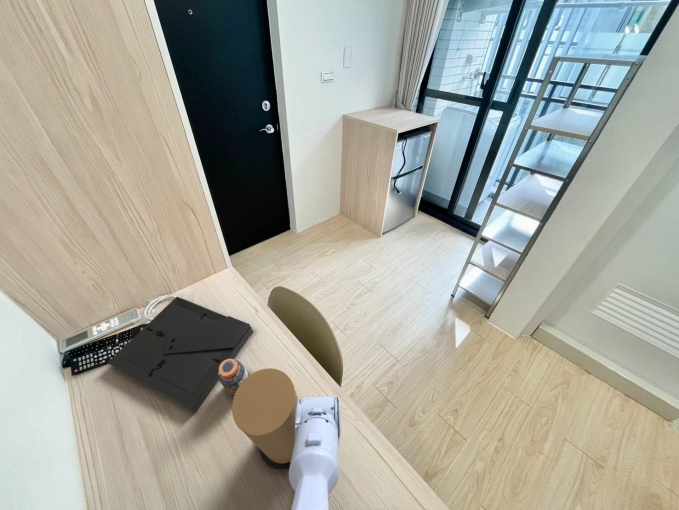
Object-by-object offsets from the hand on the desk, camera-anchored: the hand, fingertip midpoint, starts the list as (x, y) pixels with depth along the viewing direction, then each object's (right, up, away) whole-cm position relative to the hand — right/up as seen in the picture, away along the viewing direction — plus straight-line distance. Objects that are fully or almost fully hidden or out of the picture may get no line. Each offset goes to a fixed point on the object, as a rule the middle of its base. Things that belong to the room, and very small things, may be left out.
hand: (324, 450), depth 56 cm
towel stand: (-9, -1, +5) cm, 11 cm away
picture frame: (-40, +14, +21) cm, 47 cm away
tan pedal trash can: (-6, 0, +4) cm, 7 cm away
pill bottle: (-23, +7, +14) cm, 27 cm away
